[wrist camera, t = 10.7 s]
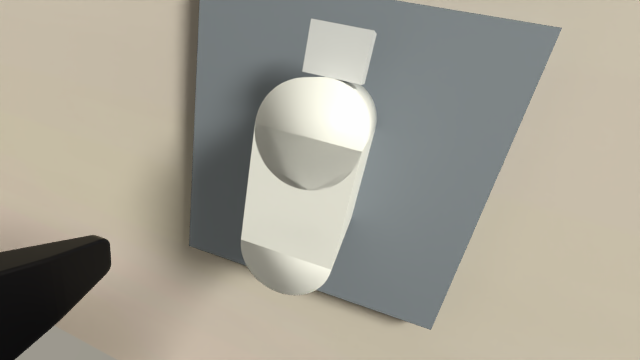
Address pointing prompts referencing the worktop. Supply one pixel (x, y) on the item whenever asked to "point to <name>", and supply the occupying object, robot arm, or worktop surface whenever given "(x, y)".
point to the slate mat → (389, 137)
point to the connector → (309, 162)
